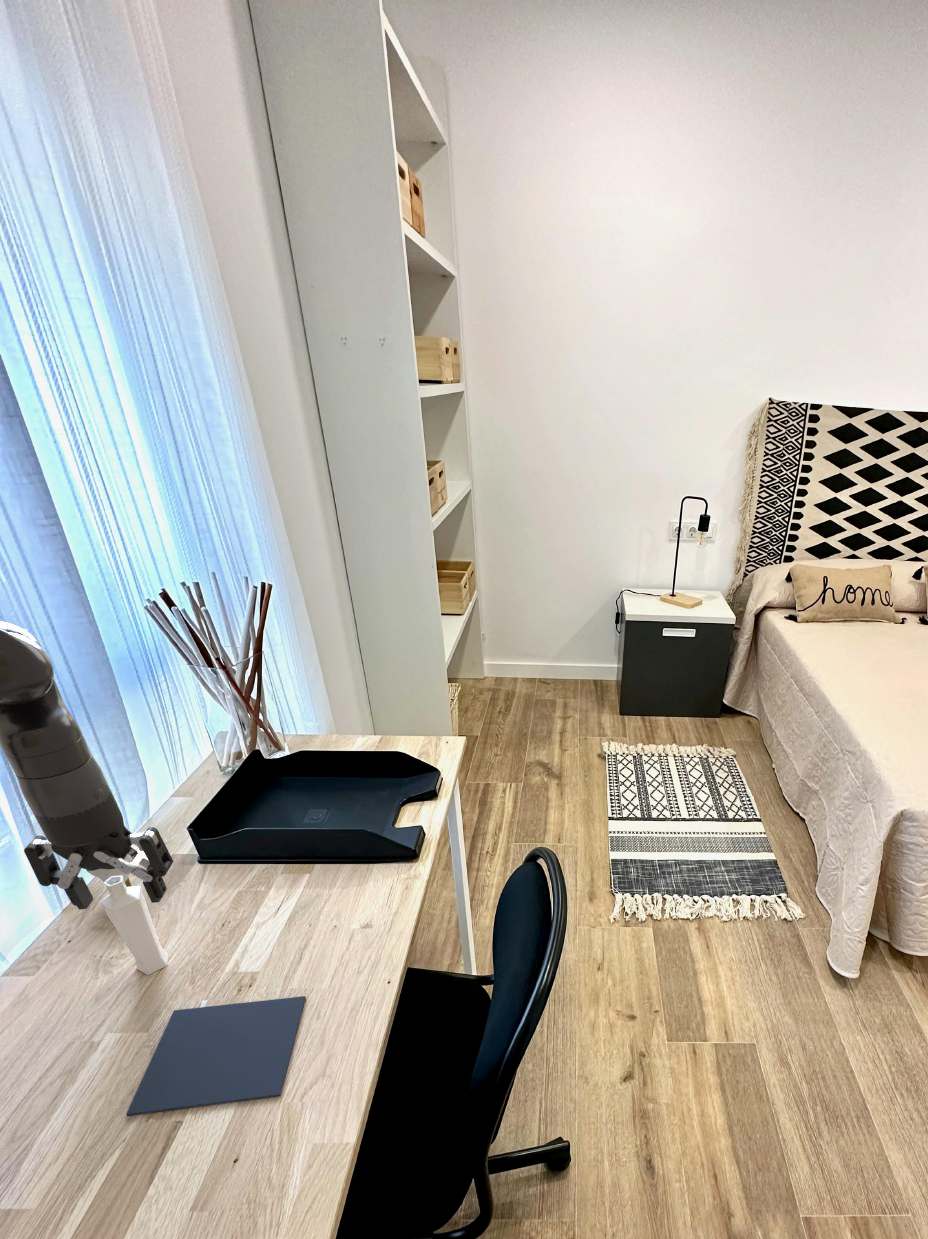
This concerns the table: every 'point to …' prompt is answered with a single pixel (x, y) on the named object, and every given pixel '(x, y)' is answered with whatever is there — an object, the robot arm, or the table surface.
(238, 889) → the table surface
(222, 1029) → the cloth
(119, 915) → the perfume bottle
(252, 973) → the table surface
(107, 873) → the light bulb
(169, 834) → the table surface
